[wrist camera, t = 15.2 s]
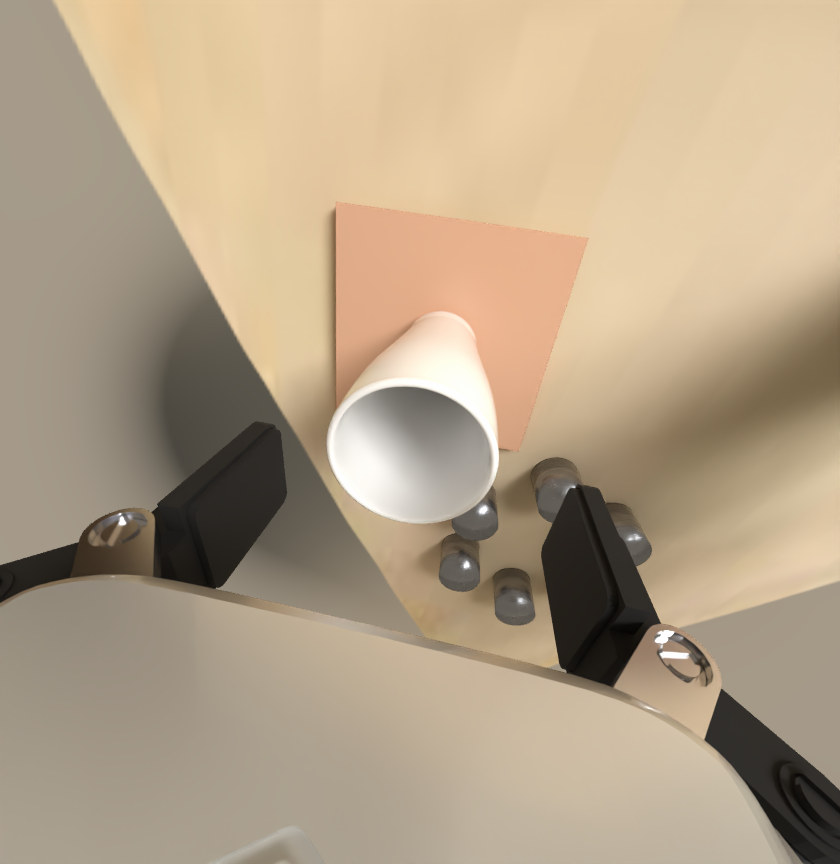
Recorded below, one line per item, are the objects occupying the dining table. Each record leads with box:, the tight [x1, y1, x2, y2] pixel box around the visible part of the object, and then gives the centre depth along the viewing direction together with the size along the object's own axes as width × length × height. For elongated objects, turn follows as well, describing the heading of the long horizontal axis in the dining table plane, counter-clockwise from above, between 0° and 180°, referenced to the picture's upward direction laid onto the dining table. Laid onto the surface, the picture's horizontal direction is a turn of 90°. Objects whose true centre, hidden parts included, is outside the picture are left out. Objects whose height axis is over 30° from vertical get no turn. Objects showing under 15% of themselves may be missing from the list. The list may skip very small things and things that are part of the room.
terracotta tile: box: [336, 202, 589, 452], centre depth 26 cm, size 16×16×1 cm
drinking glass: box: [326, 311, 499, 524], centre depth 20 cm, size 7×7×15 cm
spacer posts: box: [439, 458, 652, 625], centre depth 34 cm, size 17×19×4 cm
